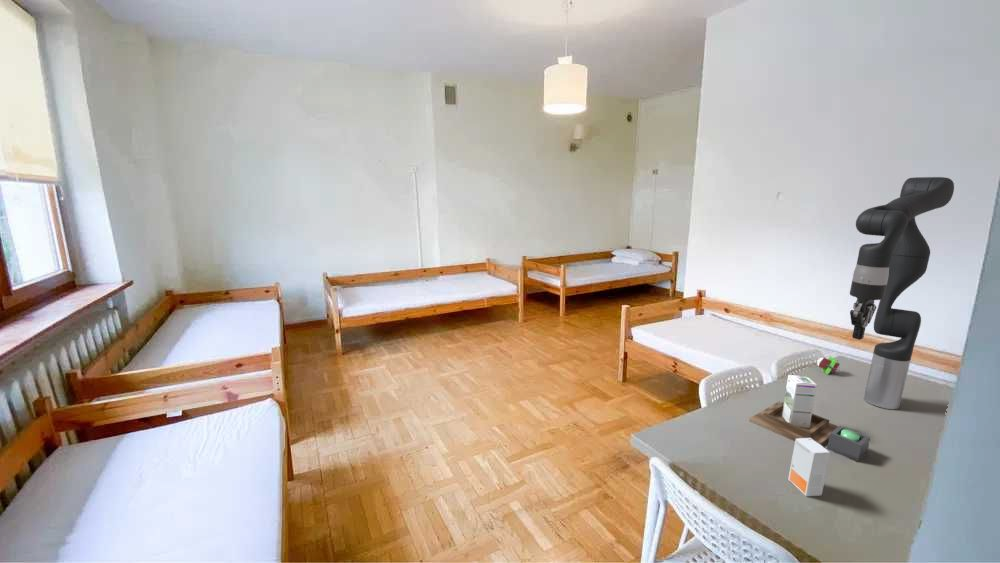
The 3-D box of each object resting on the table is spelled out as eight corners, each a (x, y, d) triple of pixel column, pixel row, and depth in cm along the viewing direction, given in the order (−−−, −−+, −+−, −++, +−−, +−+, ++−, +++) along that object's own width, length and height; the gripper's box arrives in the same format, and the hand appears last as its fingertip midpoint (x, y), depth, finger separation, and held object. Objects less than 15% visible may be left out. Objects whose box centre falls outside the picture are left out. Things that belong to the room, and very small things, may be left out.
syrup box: (810, 428, 128) (818, 384, 124) (788, 426, 129) (796, 382, 125) (801, 418, 133) (808, 376, 130) (780, 416, 134) (787, 374, 131)
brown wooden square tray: (776, 405, 143) (777, 397, 142) (840, 430, 128) (842, 421, 128) (749, 421, 133) (750, 412, 133) (815, 450, 119) (817, 440, 118)
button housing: (836, 440, 123) (840, 425, 122) (867, 453, 117) (870, 437, 116) (826, 448, 119) (830, 432, 118) (857, 461, 114) (861, 445, 113)
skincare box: (787, 480, 107) (794, 437, 104) (802, 479, 107) (810, 437, 104) (806, 497, 101) (814, 453, 98) (822, 496, 101) (831, 452, 98)
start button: (842, 437, 121) (844, 427, 120) (860, 444, 117) (862, 434, 117) (837, 441, 118) (839, 432, 118) (854, 449, 115) (856, 439, 114)
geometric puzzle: (837, 364, 171) (827, 349, 170) (849, 372, 164) (838, 356, 163) (820, 374, 172) (810, 358, 171) (831, 381, 165) (820, 365, 164)
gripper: (878, 286, 113) (865, 347, 117) (894, 280, 121) (881, 337, 124) (844, 281, 119) (833, 339, 123) (861, 276, 127) (850, 330, 130)
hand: (857, 338), depth 124 cm, fingers closed
